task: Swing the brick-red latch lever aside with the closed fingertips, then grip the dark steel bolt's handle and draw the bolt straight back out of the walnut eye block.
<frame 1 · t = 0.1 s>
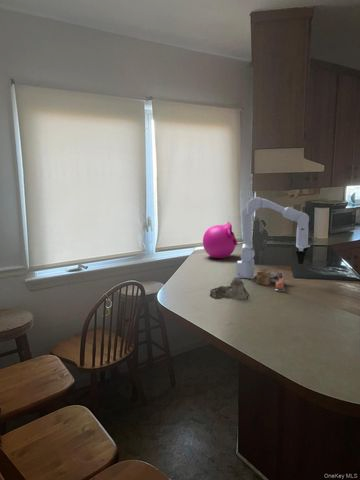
hand: (301, 262, 182), 10 cm above the worktop, tool pointing down, fingers open, 7 cm apart
lever base: (279, 290, 167), on the worktop
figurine: (220, 258, 245), on the worktop
latch lever: (280, 283, 170), point 3 cm above the worktop, hinge at 0.0°
eye block: (263, 282, 182), on the worktop
bolt: (271, 276, 180), point 3 cm above the worktop, slide at 0.0 cm
rock: (229, 296, 161), on the worktop
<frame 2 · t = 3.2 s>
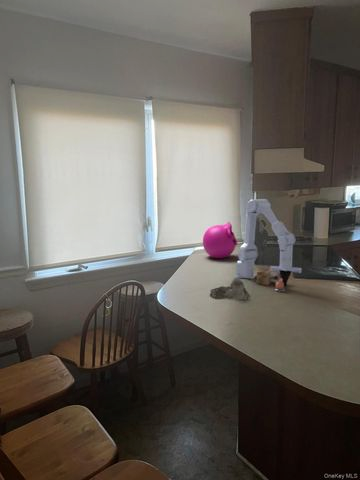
hand: (285, 285, 170), 1 cm above the worktop, tool pointing down, fingers closed, pressing on latch lever
latch lever: (280, 283, 170), point 3 cm above the worktop, hinge at 0.0°, touching gripper
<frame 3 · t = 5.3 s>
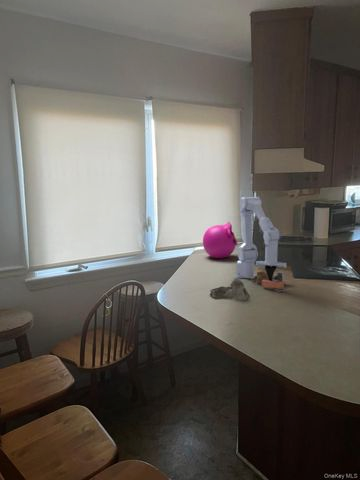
hand: (270, 280, 172), 3 cm above the worktop, tool pointing down, fingers closed
latch lever: (272, 284, 169), point 3 cm above the worktop, hinge at 76.7°
everything else where it was.
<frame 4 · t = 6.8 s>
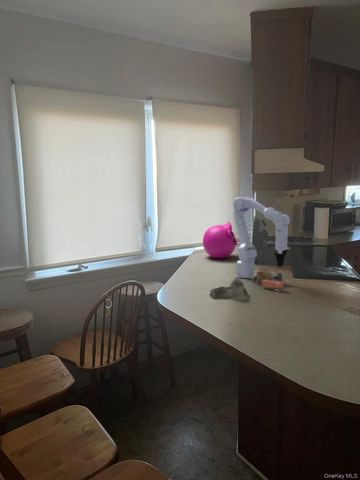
hand: (280, 264, 177), 10 cm above the worktop, tool pointing down, fingers open, 6 cm apart
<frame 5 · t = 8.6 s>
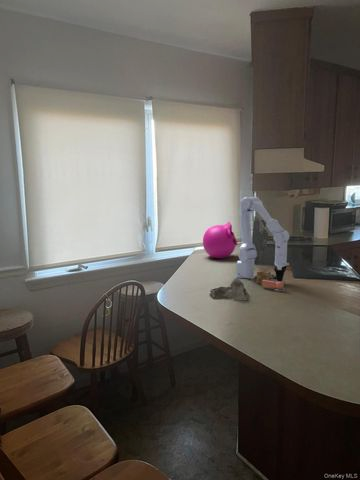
hand: (280, 280, 178), 2 cm above the worktop, tool pointing down, fingers closed on bolt, 4 cm apart
bolt: (271, 276, 180), point 3 cm above the worktop, slide at 0.0 cm, touching gripper
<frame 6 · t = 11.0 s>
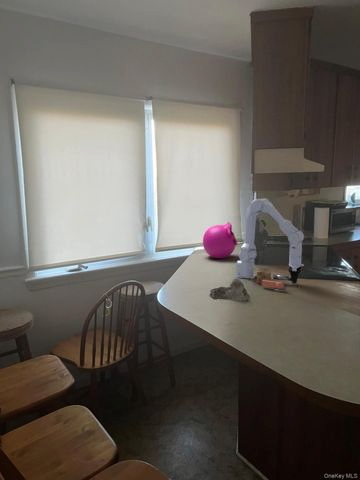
hand: (294, 281, 176), 2 cm above the worktop, tool pointing down, fingers closed on bolt, 4 cm apart
bolt: (285, 277, 177), point 3 cm above the worktop, slide at 6.9 cm, touching gripper
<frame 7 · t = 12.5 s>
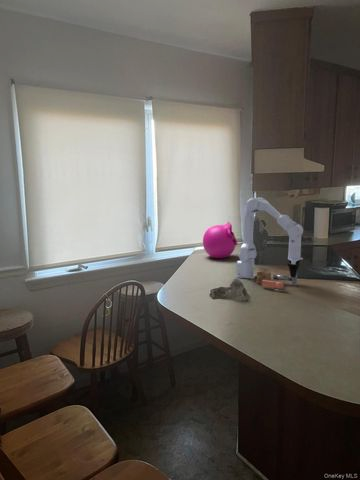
hand: (293, 275, 176), 5 cm above the worktop, tool pointing down, fingers open, 7 cm apart
bolt: (285, 277, 177), point 3 cm above the worktop, slide at 6.9 cm
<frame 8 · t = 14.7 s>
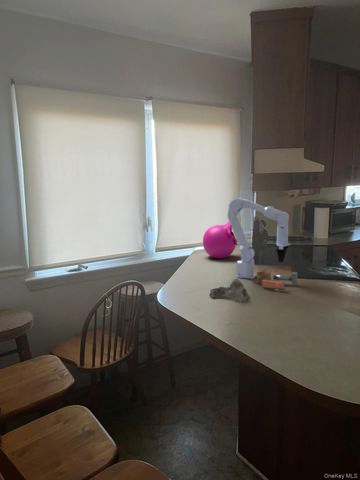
hand: (281, 260, 186), 10 cm above the worktop, tool pointing down, fingers open, 7 cm apart
at the end: bolt slide at 6.9 cm; latch lever at +77° (first picture: +0°); the gripper is holding nothing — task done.
